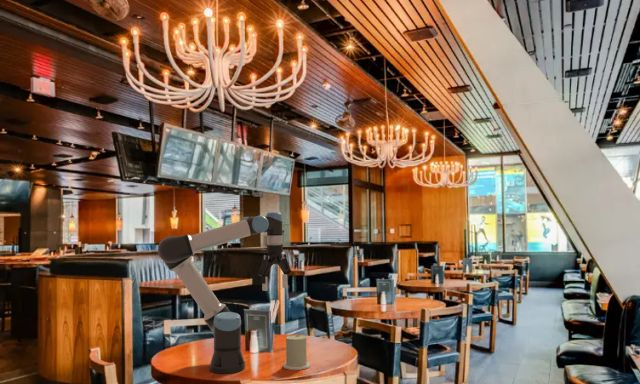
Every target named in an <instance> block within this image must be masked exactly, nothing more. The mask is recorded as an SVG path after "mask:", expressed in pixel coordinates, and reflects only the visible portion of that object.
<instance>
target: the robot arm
mask: <svg viewBox="0 0 640 384" xmlns="http://www.w3.org/2000/svg"><path fill="white" fill-rule="evenodd" d="M261 233H266V244H267V246H266V253H267V255H265V254H264V255H262V261H261V264H260V266H259V269H258V273H257V275H258V276H259V277H260V278H261V285H262V287H261V289H262V291H263V292H264V291H265V292H267V291H269V290H268V286H269V285H268V276H267V275H268V273H269V272H270V270H271V268H272V266H273V265H278V266H279V268H280V270H281V272H282V273H283V274H282V277H281V279H282V282H281V283H282V285H281V287H282V289H288V281H289V275H290V273H291V272H292V270H291V269H292V268H291V266H290V264H289V261H288V258H287V257H288V256H287V253H283V251H284V249H283V247H284V246H283V243H284V242H283V240H284V239H283V238H284V237H283V236H284V235H283V214H282V212H276V211H275V212H267V213H266V216H263V215H257V216H244V217H242V218H241V220H239V221H236V222H233V223H229V224H227V225H226V224H225V225H223V226H220V227H219V226H218V227H215V228H212V229H209V230H206V231H205V230H204V231H201V232H198V233H195V234H191V235H190V234H189V233H188V234H183V235H178V236H176V235H175V236H174V235H169V236H166V237H164V238H163V239H161V240H160V242H159V243H158V246H157V253H158V256H159V257H160V259H161V260H162V261H163V262H164V264H165V265H166V267H167V269H168V270H169V271H170V272H175V273H176V276H178V278H179V280H180V281H181V282H182V285H184V286H185V288H186V290H187V291H188V293H189V294H190V296H191V297H192V299H194V301H195V303H196V304H197V306H198V307H199V309H200V310H201V312H202V313H203V314H204V317H203V320H204V322H205V323H206V325H207V327H208V328H209V329H210V331H211V332H212V334H213V354H212V355H211V356H212V357H211V360H210V362H209V371H210V372H211V373H215V374H233V373H239V372H242V371H244V370H245V369H246V362H245V358H244V356H243V352H242V318H241V315H240V314H239V313H237V312H233V311H231V310H230V309H229V307H228V306H227V305H226V304H225V303H221V302H220V301H219V299H218V298H217V296H216V295H215V293H214V292H213V290H212V288H211V287H210V286H209V284H208V283H207V282H206V280H205V278H204V277H203V275H202V274H201V273H200V271H199V270H198V268H197V267H196V266H195V264H194V262H193V261H192V258H193V256H195V255H196V253H198V252H200V251H203V250H207V249H210V248H214V247H217V246H220V245H223V244H227V243H230V242H233V241H236V240H239V239H242V238H243V239H244V238H246V237H250V236H254V235H257V234H261Z"/></svg>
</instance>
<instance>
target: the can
mask: <svg viewBox="0 0 640 384" xmlns="http://www.w3.org/2000/svg"><path fill="white" fill-rule="evenodd" d="M307 338H308V337H307V336H306V335H302V334H301V335H299V334H298V335H297V334H295V335H287V336H286V337H285V342H286V343H285V346H286V348H285V349H286V351H285V353H286V355H285V356H286V359H285V360H286V361H285V362H286V365H288V366H292V367H299V366H304V365H306V364H307V362H308V361H307Z"/></svg>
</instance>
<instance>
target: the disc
mask: <svg viewBox="0 0 640 384" xmlns="http://www.w3.org/2000/svg"><path fill="white" fill-rule="evenodd" d="M282 368H283V369H285V370H288V371H289V370H290V371H302V369H303V370H307V369H309V368H311V362H309V361H307V364H306V365H304V366H299V367H292V366H288V365H286V361H285V362H284V363H282Z"/></svg>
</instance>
